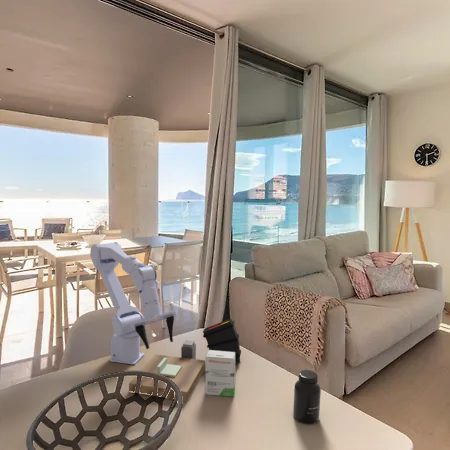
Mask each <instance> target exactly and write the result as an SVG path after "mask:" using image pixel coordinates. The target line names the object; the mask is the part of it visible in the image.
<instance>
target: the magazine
mask: <svg viewBox="0 0 450 450" xmlns="http://www.w3.org/2000/svg"><path fill="white" fill-rule="evenodd" d="M202 334H203V336H202V337H203V338H205V340H206V342H207V345H206V348H207V349H208V351H209V350H215V351H227V352H235V364H240V362H241V354H242V349H240V346H241V345H240V341H239V338H240V335H239V333H237V329H236V327H235V320H232V318H229V319H226V320H223V321H221V322H218V323H216V324H212V325H211V326H208V327H206V328H204V329H203V330H202Z"/></svg>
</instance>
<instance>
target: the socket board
mask: <svg viewBox="0 0 450 450" xmlns="http://www.w3.org/2000/svg"><path fill="white" fill-rule="evenodd" d="M164 358H167V364H172V365H179V366H182V368H181V370H180V371H179V372H178V374H177V375H176V377H170V376H165V377H167V378H169V379H170V380H172V381H173V382H175V384H176V385H177V386H178V387H179V389H180V391H181V393H182V396H183V401H182V402H186V403H188V401H189V399H190V398H191V396H192V394H193V392H194V391H195V389H196V386H197V385H198V383H199V381H200V379H201V377H202V376H203V374H204V372H205V371H206V359H205V360H203V359H197V358H196V359H189V358H181V356H171V355H162V354H156V353H155V354H154V355H153V356H152V357H151V358H150V359H149V361H148V362H147V363H145V365H144V366H143V367H142V368H141V369H140V371H146V372H152V373H156V374H157V366H158V365H159V363H160V362H161V361H162V360H163V359H164ZM136 378H137V377H136V375H135V376H134V377H133V378H132V379H131V381H129V383H128V392H129V391H133V392H134V391H135V387H136ZM153 384H154V382H153V379H152V378H147V377H142V380H141V387H140V392H141V393H147V394H150V395H151V394H152V392H153ZM165 389H166V384H165V383H164V382H162V381H159V382H158V392H157V393H158V396H161V395H162V394H163V392H164V390H165ZM173 398H174V391H173V390H172V389H170V392H169V394H168V396H167V398H166V399H167V400H171V399H173ZM166 399H165V400H166Z"/></svg>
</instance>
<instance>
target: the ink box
mask: <svg viewBox="0 0 450 450" xmlns="http://www.w3.org/2000/svg"><path fill="white" fill-rule="evenodd" d="M235 391H236V363H235V352H227V351H215V350H209V349H208V351H207V354H206V356H205V395H209V396H210V395H211V396H220V397H221V396H222V397H230V398H231V397H235Z"/></svg>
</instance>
